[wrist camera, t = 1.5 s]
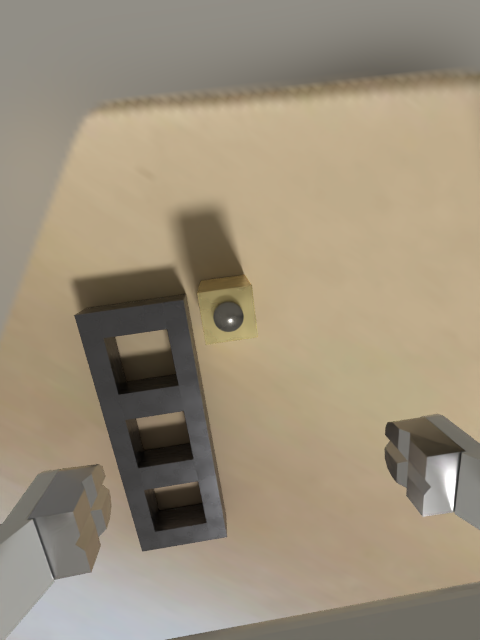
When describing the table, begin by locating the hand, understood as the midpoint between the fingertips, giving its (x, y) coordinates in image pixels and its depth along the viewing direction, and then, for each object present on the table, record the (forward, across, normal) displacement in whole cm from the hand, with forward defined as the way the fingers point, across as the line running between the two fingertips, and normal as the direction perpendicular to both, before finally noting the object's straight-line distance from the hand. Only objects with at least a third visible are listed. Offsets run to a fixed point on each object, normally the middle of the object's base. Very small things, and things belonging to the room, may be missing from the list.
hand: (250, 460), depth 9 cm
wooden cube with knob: (+21, 0, 0) cm, 21 cm away
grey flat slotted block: (+21, +7, +12) cm, 25 cm away
